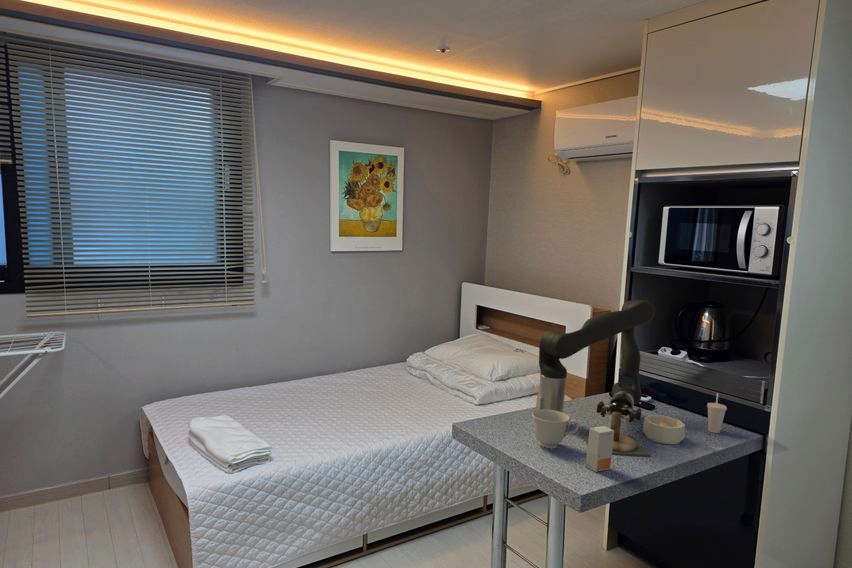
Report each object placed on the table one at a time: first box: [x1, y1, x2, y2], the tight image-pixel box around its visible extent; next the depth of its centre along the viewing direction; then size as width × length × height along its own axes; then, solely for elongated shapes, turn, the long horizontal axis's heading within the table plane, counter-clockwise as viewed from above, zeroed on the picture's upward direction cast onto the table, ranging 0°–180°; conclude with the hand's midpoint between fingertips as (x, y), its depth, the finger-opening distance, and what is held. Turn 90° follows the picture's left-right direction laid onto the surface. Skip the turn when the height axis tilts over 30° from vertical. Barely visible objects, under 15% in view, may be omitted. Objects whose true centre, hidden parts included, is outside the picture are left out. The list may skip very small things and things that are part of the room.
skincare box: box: [585, 425, 614, 473], centre depth 163 cm, size 6×4×12 cm
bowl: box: [642, 414, 686, 446], centre depth 191 cm, size 12×12×6 cm
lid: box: [609, 412, 637, 452], centre depth 182 cm, size 14×14×10 cm
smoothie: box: [706, 392, 728, 434], centre depth 201 cm, size 6×6×14 cm
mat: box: [579, 432, 652, 457], centre depth 183 cm, size 18×16×1 cm
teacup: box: [531, 409, 580, 449], centre depth 178 cm, size 12×15×10 cm
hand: (616, 416), depth 184 cm, fingers open, 8 cm apart
